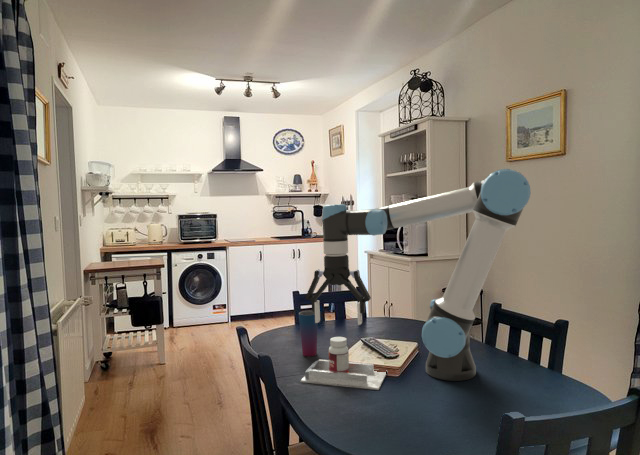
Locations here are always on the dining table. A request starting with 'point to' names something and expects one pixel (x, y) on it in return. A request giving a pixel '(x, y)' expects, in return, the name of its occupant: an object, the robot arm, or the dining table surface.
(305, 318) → the cup
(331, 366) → the pill bottle
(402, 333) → the dining table surface
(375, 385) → the white shallow tray
